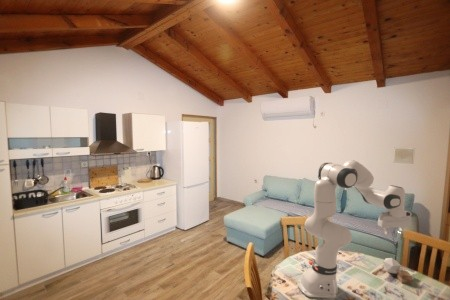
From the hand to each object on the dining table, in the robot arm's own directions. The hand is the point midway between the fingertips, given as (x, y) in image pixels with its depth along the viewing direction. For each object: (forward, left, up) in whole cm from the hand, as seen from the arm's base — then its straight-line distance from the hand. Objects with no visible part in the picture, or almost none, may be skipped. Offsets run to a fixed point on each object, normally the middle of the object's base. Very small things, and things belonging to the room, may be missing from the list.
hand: (393, 233), depth 136 cm
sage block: (+6, -6, -26) cm, 27 cm away
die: (0, 0, -26) cm, 26 cm away
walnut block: (+1, -8, -20) cm, 22 cm away
